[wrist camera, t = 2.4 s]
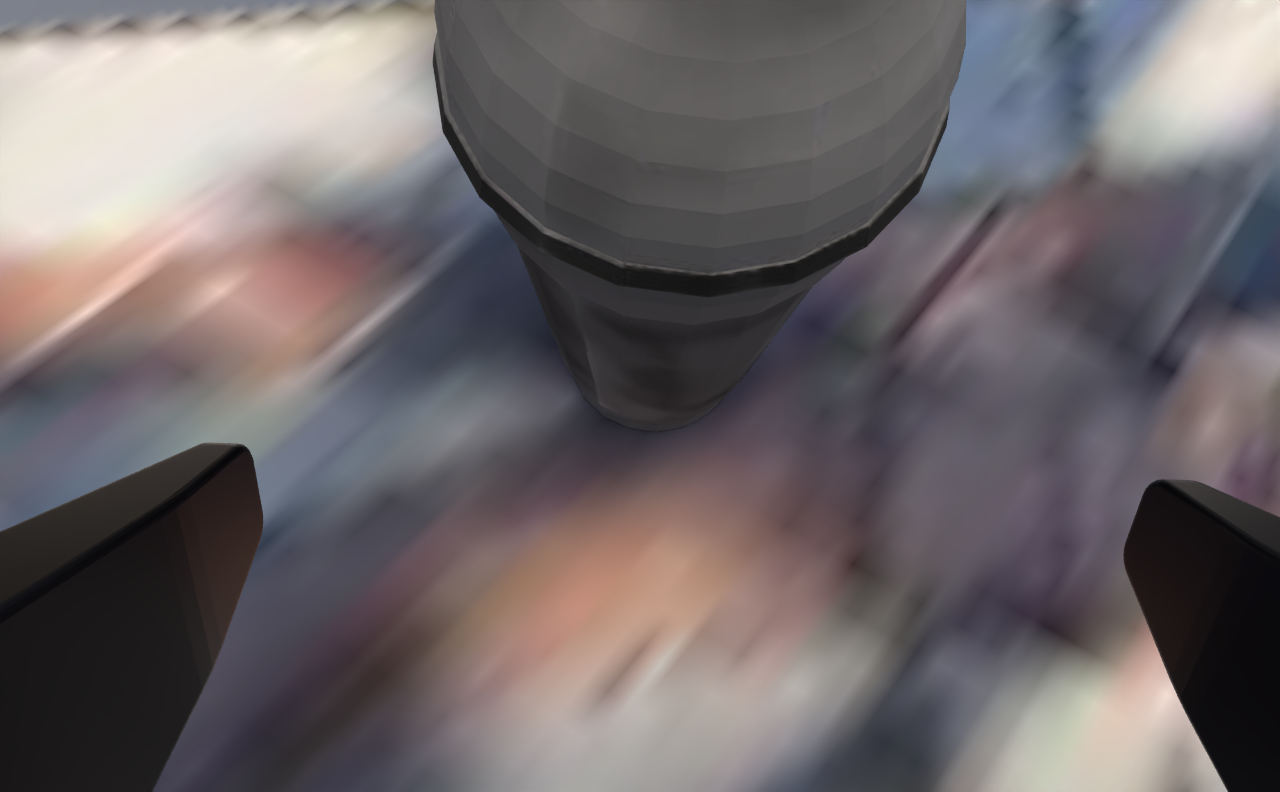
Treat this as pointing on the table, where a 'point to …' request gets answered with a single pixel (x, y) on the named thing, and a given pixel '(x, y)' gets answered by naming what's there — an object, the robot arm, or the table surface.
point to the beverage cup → (689, 166)
